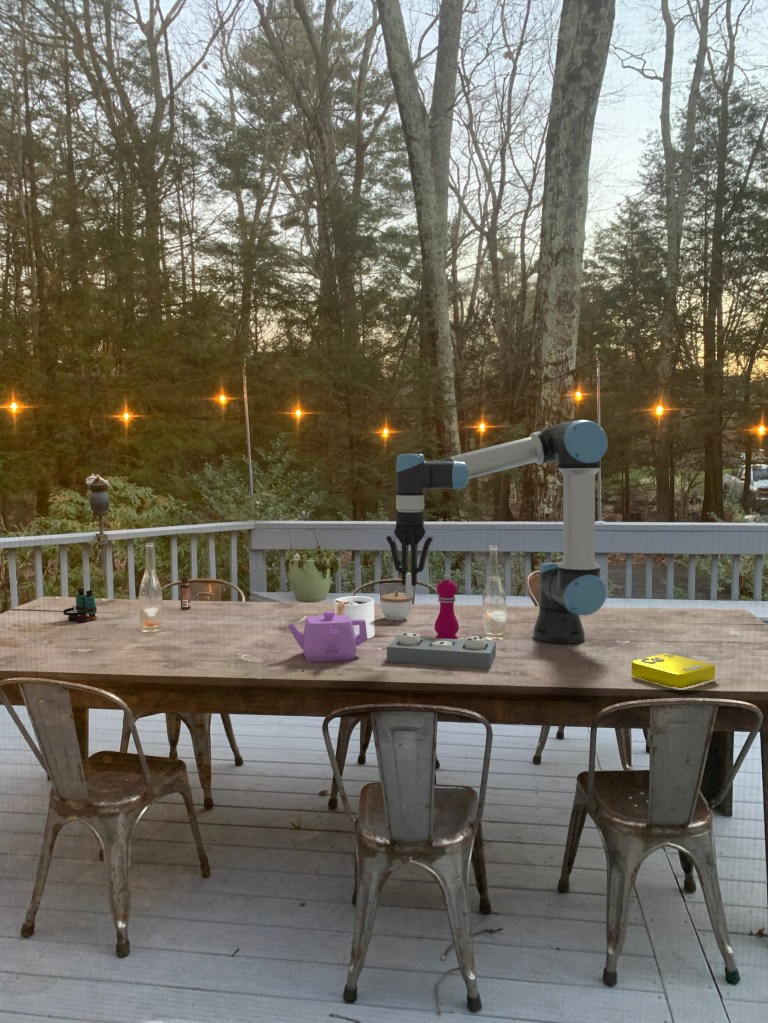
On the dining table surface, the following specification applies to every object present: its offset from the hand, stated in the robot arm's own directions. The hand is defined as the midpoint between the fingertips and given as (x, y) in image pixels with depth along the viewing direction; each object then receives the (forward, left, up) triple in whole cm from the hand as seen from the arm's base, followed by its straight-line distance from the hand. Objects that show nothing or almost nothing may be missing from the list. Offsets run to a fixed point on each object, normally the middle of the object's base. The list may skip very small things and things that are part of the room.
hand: (409, 597), depth 208 cm
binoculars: (+117, -18, -17) cm, 119 cm away
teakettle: (+22, +5, -17) cm, 28 cm away
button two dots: (0, 0, -14) cm, 14 cm away
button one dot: (-9, 0, -16) cm, 18 cm away
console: (-9, 0, -17) cm, 19 cm away
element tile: (-68, +4, -17) cm, 70 cm away
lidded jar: (+15, -47, -17) cm, 52 cm away
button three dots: (-18, 0, -14) cm, 23 cm away
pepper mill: (-7, -19, -17) cm, 26 cm away
